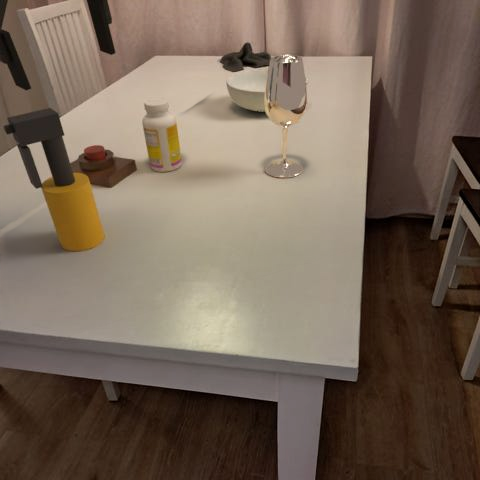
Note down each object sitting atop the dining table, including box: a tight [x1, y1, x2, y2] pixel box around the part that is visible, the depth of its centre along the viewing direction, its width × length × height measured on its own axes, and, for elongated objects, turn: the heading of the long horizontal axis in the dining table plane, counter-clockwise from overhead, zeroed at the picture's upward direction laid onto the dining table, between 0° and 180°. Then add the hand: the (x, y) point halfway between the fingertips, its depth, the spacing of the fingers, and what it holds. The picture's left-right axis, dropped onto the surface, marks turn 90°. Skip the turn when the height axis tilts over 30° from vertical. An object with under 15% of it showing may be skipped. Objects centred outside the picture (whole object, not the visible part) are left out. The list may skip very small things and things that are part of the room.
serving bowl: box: [225, 68, 309, 113], centre depth 121 cm, size 21×21×7 cm
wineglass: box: [264, 54, 308, 179], centre depth 87 cm, size 8×8×20 cm
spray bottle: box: [2, 107, 105, 252], centre depth 69 cm, size 9×7×20 cm
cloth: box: [219, 41, 272, 73], centre depth 158 cm, size 22×19×6 cm
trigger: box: [16, 143, 43, 190], centre depth 66 cm, size 1×3×6 cm, turn 36°
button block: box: [70, 148, 138, 189], centre depth 94 cm, size 12×9×4 cm
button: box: [83, 144, 106, 160], centre depth 93 cm, size 4×4×2 cm
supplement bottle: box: [141, 97, 183, 173], centre depth 93 cm, size 7×7×13 cm
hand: (67, 69), depth 63 cm, fingers open, 13 cm apart
